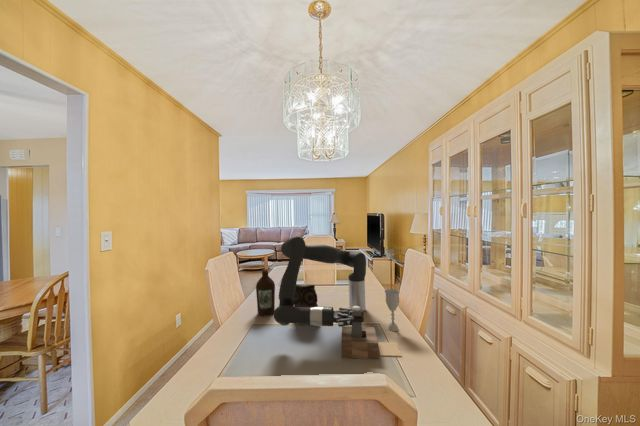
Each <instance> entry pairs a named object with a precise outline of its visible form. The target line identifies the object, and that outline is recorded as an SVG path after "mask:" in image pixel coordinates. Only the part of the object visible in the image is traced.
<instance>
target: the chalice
mask: <svg viewBox="0 0 640 426" xmlns="http://www.w3.org/2000/svg"><path fill="white" fill-rule="evenodd" d="M384 293H385V303H386V305H387V307H388V309H389V311H391V313H390V315H391V318H390V320H391V322H390V323H389V324H388V327H387V330H388V331H390V332H397V331H399V326H398V324H397V323H396V322H395V311H397V309H398V306H399V305H400V304H399V303H400V290H399V289H394V288H389V289H388V288H387V289H385V290H384Z"/></svg>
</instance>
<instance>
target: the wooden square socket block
mask: <svg viewBox="0 0 640 426" xmlns="http://www.w3.org/2000/svg"><path fill="white" fill-rule="evenodd" d="M378 342H379V341H378V337H377V332H376V329H375V327H374V326H362V338H352V326H341V343H340V344H341V345H340V346H341V358H342V359H369V360H370V359H371V360H379V347H378Z"/></svg>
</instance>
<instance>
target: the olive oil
mask: <svg viewBox="0 0 640 426" xmlns="http://www.w3.org/2000/svg"><path fill="white" fill-rule="evenodd" d="M261 271H262V272H261V275H262V276H261V277H260V278H259V279H258V281H257V282H256V284H255V293H256V304H257V305H256V306H257V307H256V308H257V315H258V316H260V317H268V316H272V315H273V314H274V311H275V309H276V308H275V298H276V297H275V296H276V285H275V284H276V283H275V282H274V280H273V279H272V278H271V276H269V270H268V268H263V269H262V270H261Z"/></svg>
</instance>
